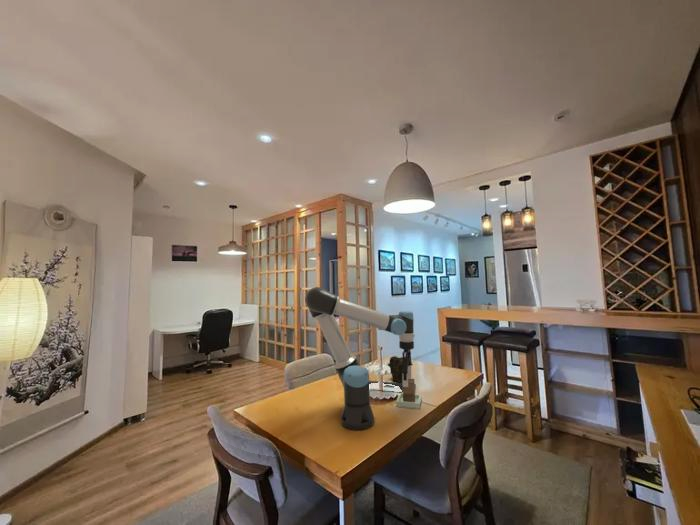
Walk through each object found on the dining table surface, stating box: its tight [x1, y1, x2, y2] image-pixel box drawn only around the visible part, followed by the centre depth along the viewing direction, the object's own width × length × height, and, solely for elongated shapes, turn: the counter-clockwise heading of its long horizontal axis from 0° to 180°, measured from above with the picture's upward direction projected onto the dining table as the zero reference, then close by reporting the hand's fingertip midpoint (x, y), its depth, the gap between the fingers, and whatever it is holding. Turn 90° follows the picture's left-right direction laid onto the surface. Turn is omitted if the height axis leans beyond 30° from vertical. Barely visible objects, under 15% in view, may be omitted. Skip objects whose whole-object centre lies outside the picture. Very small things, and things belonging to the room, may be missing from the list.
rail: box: [369, 379, 417, 392], centre depth 169 cm, size 10×30×2 cm, turn 71°
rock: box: [387, 355, 410, 383], centre depth 183 cm, size 12×9×15 cm
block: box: [402, 378, 416, 402], centre depth 148 cm, size 6×6×11 cm
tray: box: [395, 393, 423, 410], centre depth 147 cm, size 12×12×3 cm
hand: (407, 382), depth 148 cm, fingers open, 13 cm apart
